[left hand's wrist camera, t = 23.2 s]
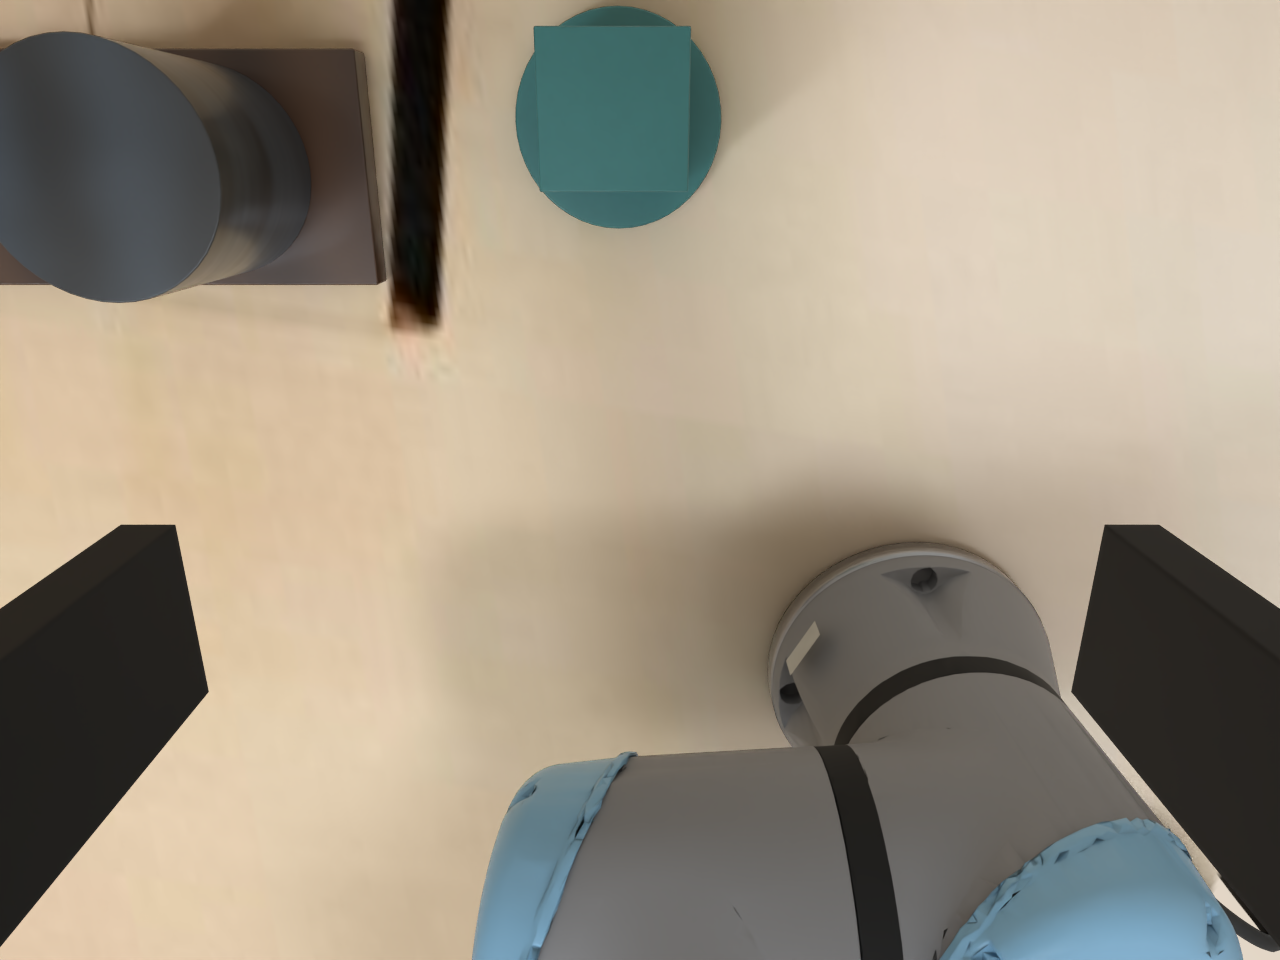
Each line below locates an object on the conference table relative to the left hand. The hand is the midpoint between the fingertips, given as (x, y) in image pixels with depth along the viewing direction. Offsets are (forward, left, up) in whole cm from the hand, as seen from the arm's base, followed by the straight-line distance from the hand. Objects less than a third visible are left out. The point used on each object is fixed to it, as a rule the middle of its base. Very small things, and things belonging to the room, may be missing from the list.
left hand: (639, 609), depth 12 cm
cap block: (+6, -5, -32) cm, 33 cm away
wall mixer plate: (+24, +15, -32) cm, 42 cm away
